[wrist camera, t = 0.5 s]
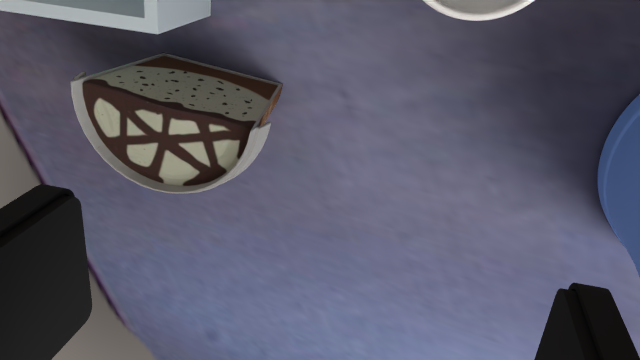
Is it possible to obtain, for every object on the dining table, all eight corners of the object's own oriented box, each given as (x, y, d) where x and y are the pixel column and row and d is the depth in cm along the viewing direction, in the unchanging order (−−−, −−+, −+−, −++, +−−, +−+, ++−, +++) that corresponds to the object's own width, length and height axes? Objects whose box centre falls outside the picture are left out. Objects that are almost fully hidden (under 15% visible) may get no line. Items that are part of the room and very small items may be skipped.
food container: (140, 123, 44) (62, 171, 35) (145, 47, 42) (62, 79, 33) (287, 164, 43) (245, 225, 34) (302, 89, 40) (260, 133, 31)
